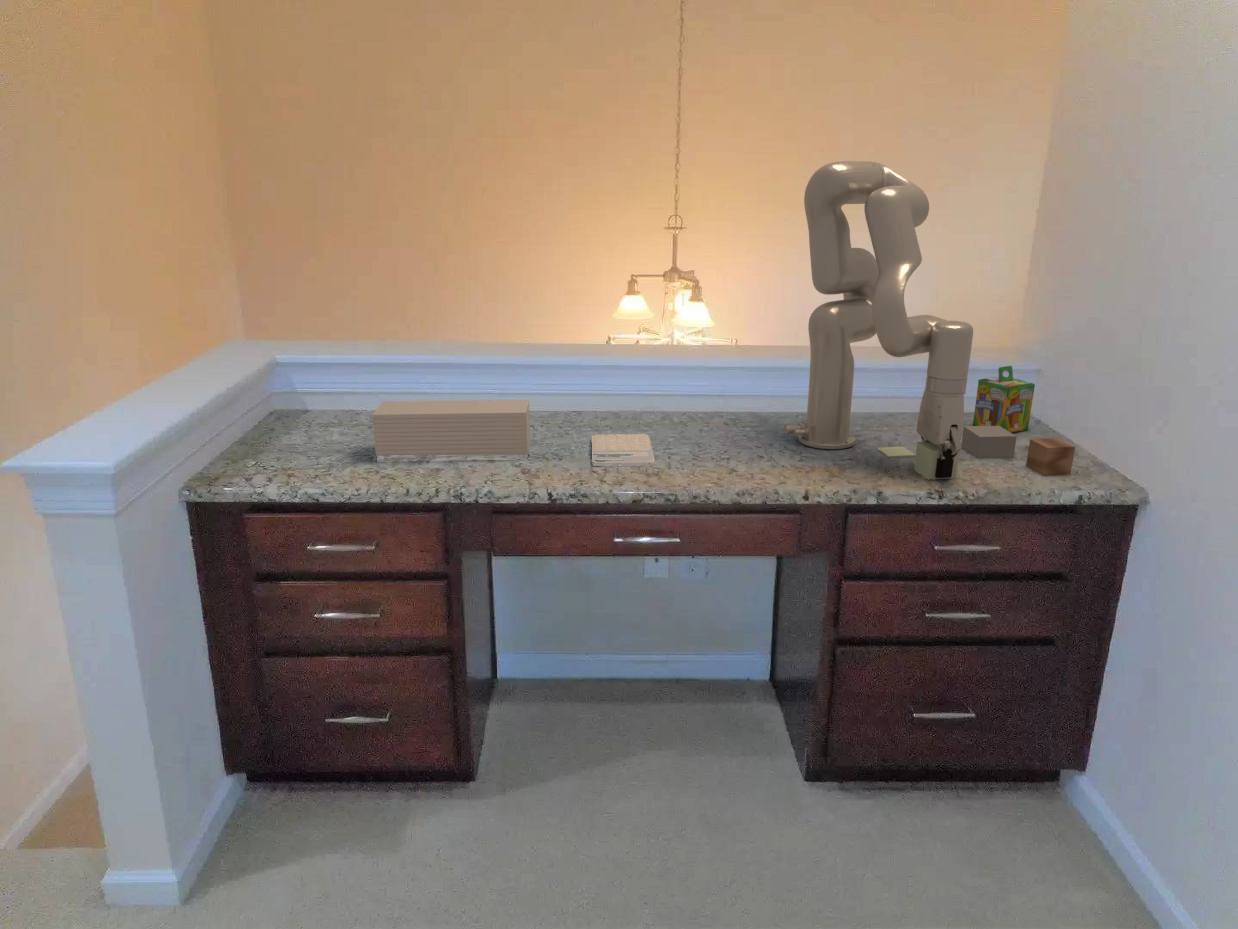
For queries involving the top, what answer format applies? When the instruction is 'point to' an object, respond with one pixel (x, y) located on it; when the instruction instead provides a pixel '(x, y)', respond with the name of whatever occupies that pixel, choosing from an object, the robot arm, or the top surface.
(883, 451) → the tile
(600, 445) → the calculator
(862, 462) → the top surface
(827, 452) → the top surface
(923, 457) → the sage block
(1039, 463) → the walnut block
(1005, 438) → the base block
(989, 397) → the chalk box
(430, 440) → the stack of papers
